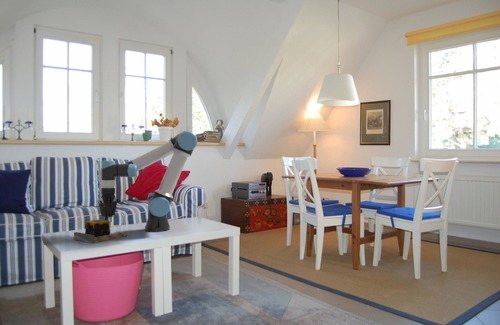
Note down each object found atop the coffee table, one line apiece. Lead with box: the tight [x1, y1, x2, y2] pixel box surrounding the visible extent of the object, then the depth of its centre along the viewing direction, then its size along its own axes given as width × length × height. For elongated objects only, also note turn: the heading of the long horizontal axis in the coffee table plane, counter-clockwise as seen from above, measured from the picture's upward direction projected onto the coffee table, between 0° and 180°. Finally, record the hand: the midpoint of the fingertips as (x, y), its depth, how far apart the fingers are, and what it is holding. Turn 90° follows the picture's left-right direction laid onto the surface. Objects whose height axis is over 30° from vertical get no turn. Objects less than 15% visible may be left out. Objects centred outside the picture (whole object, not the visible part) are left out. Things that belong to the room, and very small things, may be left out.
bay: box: [73, 228, 128, 244], centre depth 224 cm, size 23×16×4 cm
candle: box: [84, 219, 111, 237], centre depth 221 cm, size 10×10×10 cm
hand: (108, 228), depth 228 cm, fingers closed
